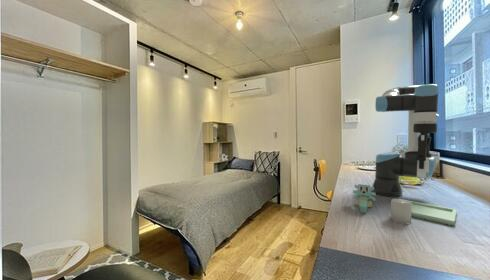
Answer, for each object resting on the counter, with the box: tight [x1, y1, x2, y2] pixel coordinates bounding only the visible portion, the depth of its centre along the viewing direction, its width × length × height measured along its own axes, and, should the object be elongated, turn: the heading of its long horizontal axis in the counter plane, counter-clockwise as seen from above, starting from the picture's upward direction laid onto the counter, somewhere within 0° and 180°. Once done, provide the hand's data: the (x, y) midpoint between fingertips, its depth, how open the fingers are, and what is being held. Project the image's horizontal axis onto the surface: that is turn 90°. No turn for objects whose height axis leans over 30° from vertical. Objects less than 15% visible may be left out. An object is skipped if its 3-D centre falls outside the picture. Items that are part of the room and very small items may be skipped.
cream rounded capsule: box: [390, 198, 412, 224], centre depth 92 cm, size 7×7×8 cm
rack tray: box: [407, 199, 457, 227], centre depth 100 cm, size 20×17×2 cm
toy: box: [352, 183, 377, 214], centre depth 105 cm, size 10×14×15 cm
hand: (423, 174), depth 93 cm, fingers open, 13 cm apart
